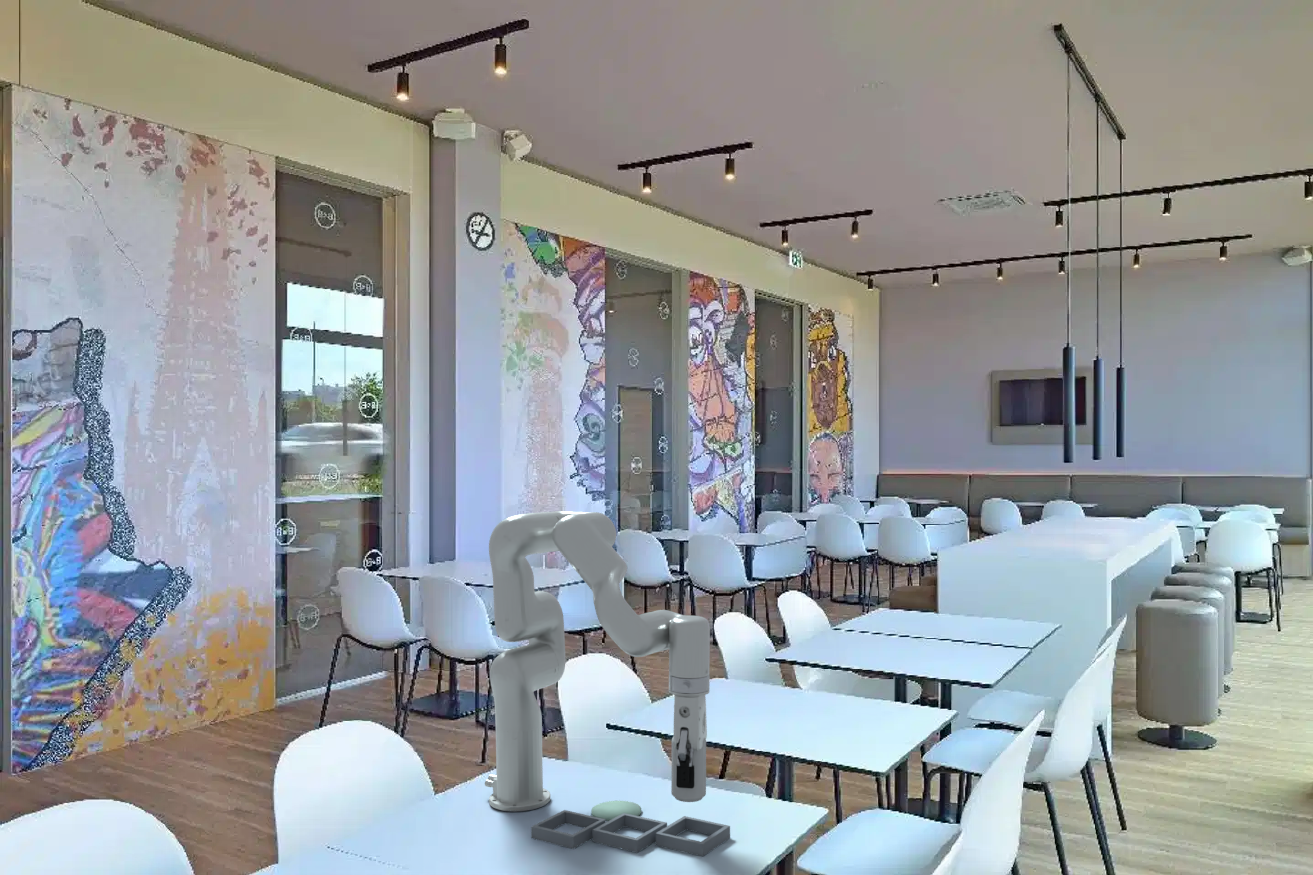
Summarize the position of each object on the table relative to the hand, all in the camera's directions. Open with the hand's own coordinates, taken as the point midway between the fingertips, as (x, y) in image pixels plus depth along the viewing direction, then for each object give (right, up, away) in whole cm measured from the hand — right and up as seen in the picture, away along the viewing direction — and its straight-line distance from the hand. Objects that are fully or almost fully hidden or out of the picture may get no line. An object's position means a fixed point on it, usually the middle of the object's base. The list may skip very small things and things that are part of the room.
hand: (688, 779), depth 183 cm
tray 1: (-22, -12, +4) cm, 26 cm away
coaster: (-14, -12, +15) cm, 24 cm away
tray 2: (-11, -11, +2) cm, 16 cm away
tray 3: (+1, -11, -1) cm, 11 cm away
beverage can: (0, -3, 0) cm, 3 cm away
